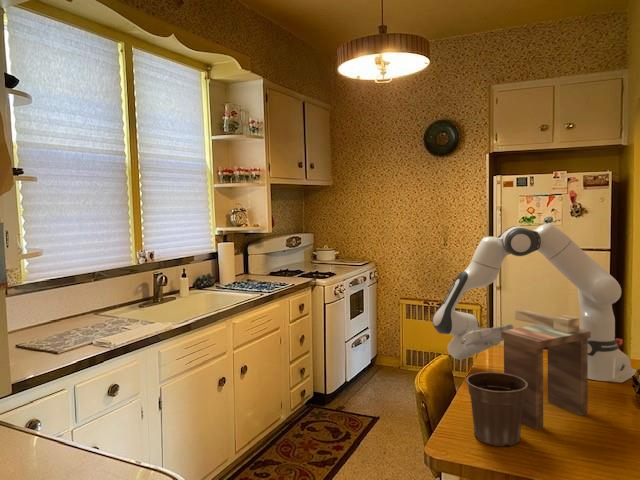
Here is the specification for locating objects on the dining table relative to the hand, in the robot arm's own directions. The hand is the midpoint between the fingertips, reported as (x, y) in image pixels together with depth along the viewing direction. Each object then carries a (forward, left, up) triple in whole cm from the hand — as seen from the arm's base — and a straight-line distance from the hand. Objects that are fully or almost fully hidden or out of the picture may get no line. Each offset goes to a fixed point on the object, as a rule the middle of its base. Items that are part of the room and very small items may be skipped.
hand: (502, 328), depth 174 cm
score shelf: (+6, +24, -21) cm, 32 cm away
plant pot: (+30, +28, -21) cm, 46 cm away
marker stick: (0, +18, +5) cm, 19 cm away
